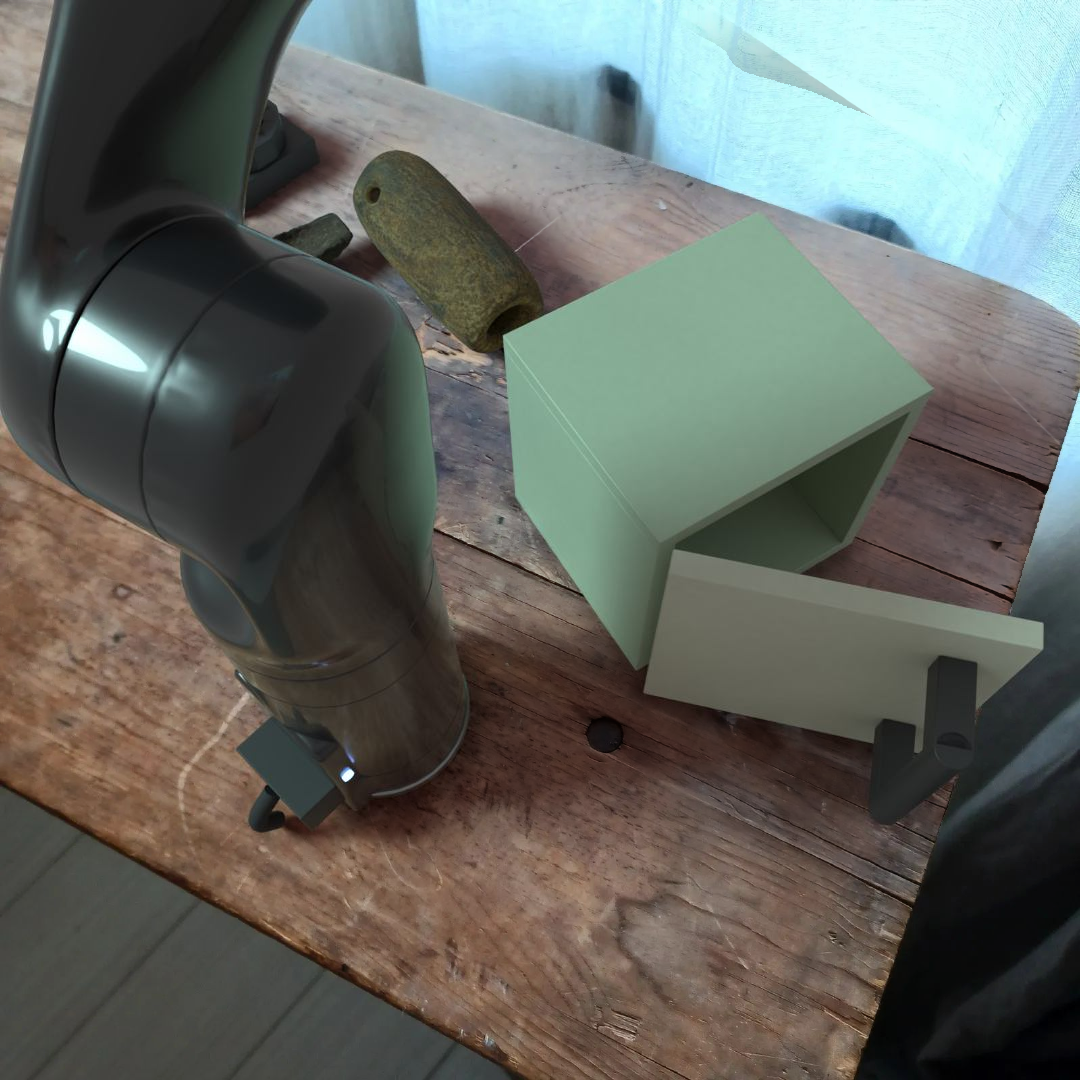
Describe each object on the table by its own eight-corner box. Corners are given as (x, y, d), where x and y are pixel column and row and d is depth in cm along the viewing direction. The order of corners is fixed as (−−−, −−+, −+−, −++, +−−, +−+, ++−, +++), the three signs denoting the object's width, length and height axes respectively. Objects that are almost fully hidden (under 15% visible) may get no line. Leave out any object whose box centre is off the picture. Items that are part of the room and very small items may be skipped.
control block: (234, 221, 72) (217, 176, 69) (174, 173, 75) (155, 128, 71) (320, 162, 75) (308, 116, 71) (260, 117, 77) (246, 71, 74)
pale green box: (851, 543, 59) (935, 388, 46) (636, 671, 56) (659, 543, 43) (719, 389, 65) (760, 210, 51) (515, 497, 61) (502, 335, 48)
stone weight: (343, 249, 71) (324, 173, 65) (424, 201, 73) (412, 123, 67) (478, 382, 65) (470, 312, 59) (561, 326, 67) (561, 253, 61)
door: (920, 847, 51) (1043, 766, 38) (625, 779, 53) (646, 680, 40) (927, 733, 54) (1044, 622, 41) (646, 673, 56) (673, 548, 43)
